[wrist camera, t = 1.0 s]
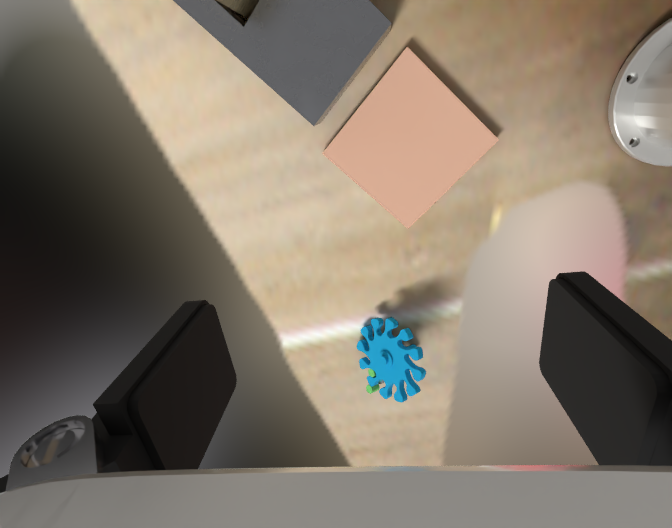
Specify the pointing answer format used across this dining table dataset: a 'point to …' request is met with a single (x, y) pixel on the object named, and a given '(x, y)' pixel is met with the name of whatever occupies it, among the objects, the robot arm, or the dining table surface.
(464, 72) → the dining table surface
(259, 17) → the grey block with hole
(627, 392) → the robot arm
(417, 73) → the terracotta tile
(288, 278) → the dining table surface
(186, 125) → the dining table surface
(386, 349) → the gear
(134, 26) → the dining table surface
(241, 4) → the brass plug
